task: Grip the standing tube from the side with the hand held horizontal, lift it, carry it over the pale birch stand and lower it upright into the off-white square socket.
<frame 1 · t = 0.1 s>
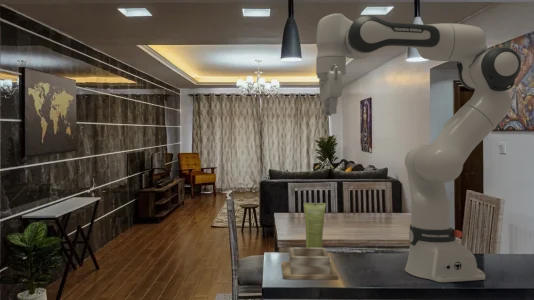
hand: (330, 114, 130), 48 cm above the countertop, tool pointing down, fingers open, 8 cm apart
tube: (314, 262, 142), on the countertop
socket stand: (308, 271, 131), on the countertop
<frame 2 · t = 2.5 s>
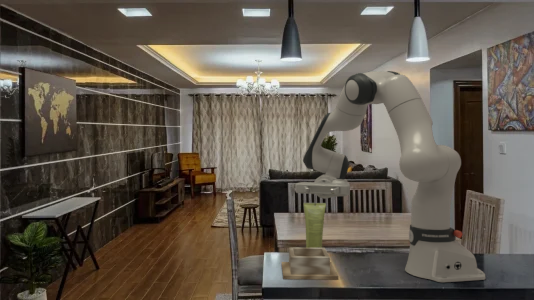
hand: (320, 191, 153), 22 cm above the countertop, tool horizontal, fingers open, 8 cm apart
nothing on the countertop moved.
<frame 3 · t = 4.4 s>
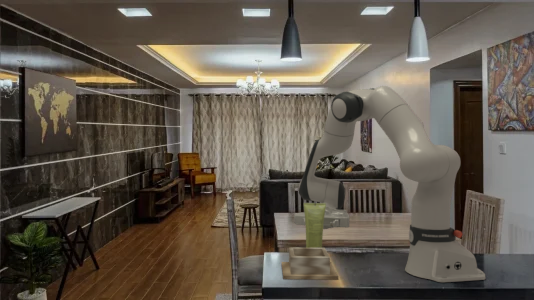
hand: (319, 223, 150), 11 cm above the countertop, tool horizontal, fingers open, 8 cm apart
nothing on the countertop moved.
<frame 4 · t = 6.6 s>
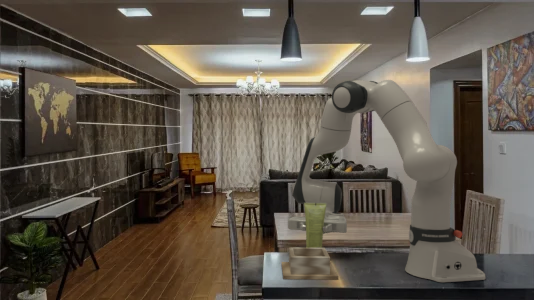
hand: (314, 228, 141), 11 cm above the countertop, tool horizontal, fingers closed on tube, 6 cm apart
tube: (314, 262, 142), on the countertop, touching gripper
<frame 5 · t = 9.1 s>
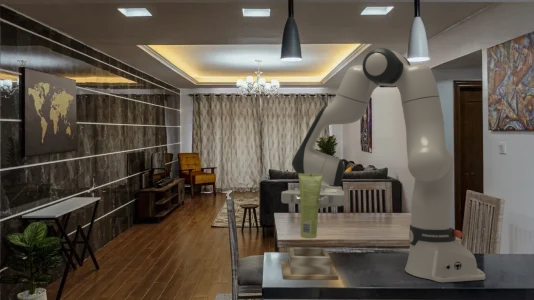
hand: (309, 201, 130), 22 cm above the countertop, tool horizontal, fingers closed on tube, 6 cm apart
tube: (309, 237, 131), point 10 cm above the countertop, touching gripper
when the fingers open (13 cm above the countertop, at t = 11.8 s): tube moves 2 cm, resting on socket stand.
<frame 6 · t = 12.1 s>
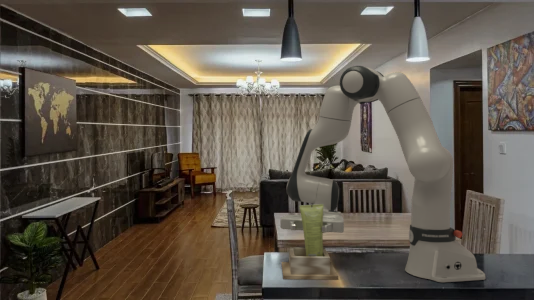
hand: (308, 228, 130), 13 cm above the countertop, tool horizontal, fingers open, 8 cm apart
tube: (316, 269, 130), point 1 cm above the countertop, touching gripper, socket stand
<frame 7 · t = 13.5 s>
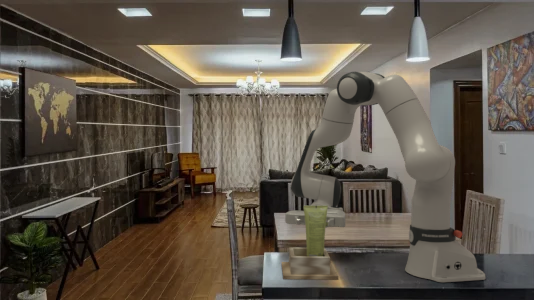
hand: (312, 223, 137), 14 cm above the countertop, tool horizontal, fingers open, 8 cm apart
tube: (315, 269, 131), point 1 cm above the countertop, touching socket stand
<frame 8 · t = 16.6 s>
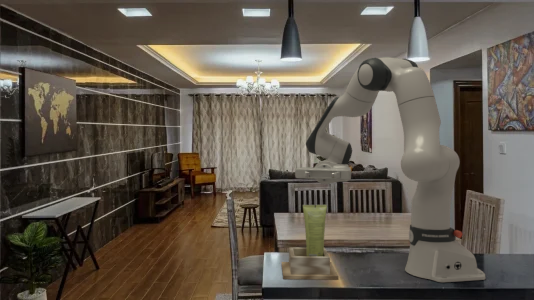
hand: (320, 175, 149), 28 cm above the countertop, tool horizontal, fingers open, 8 cm apart
at the end: tube 2.2 cm off-centre on the socket stand, point 0.9 cm above the socket stand's base; tube tilted 2°; the gripper is holding nothing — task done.
